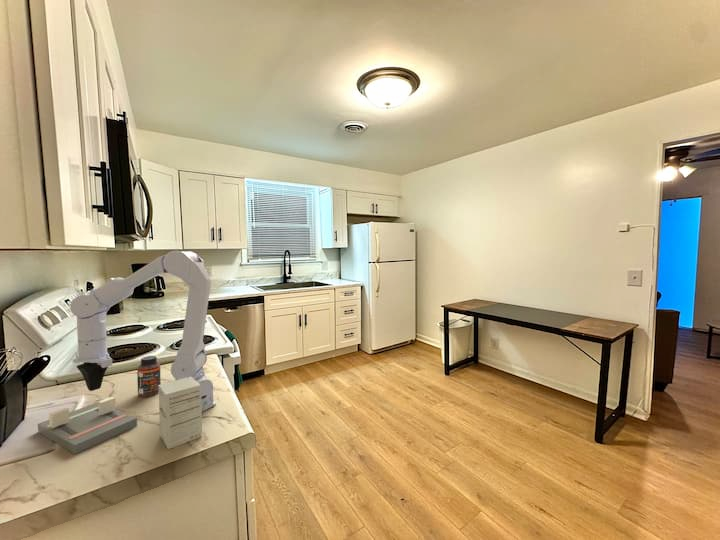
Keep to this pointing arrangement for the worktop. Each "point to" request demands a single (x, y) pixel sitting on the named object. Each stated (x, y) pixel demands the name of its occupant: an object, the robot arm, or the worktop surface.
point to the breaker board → (87, 428)
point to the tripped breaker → (106, 405)
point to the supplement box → (180, 411)
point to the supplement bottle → (148, 376)
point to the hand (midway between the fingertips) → (94, 389)
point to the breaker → (59, 417)
